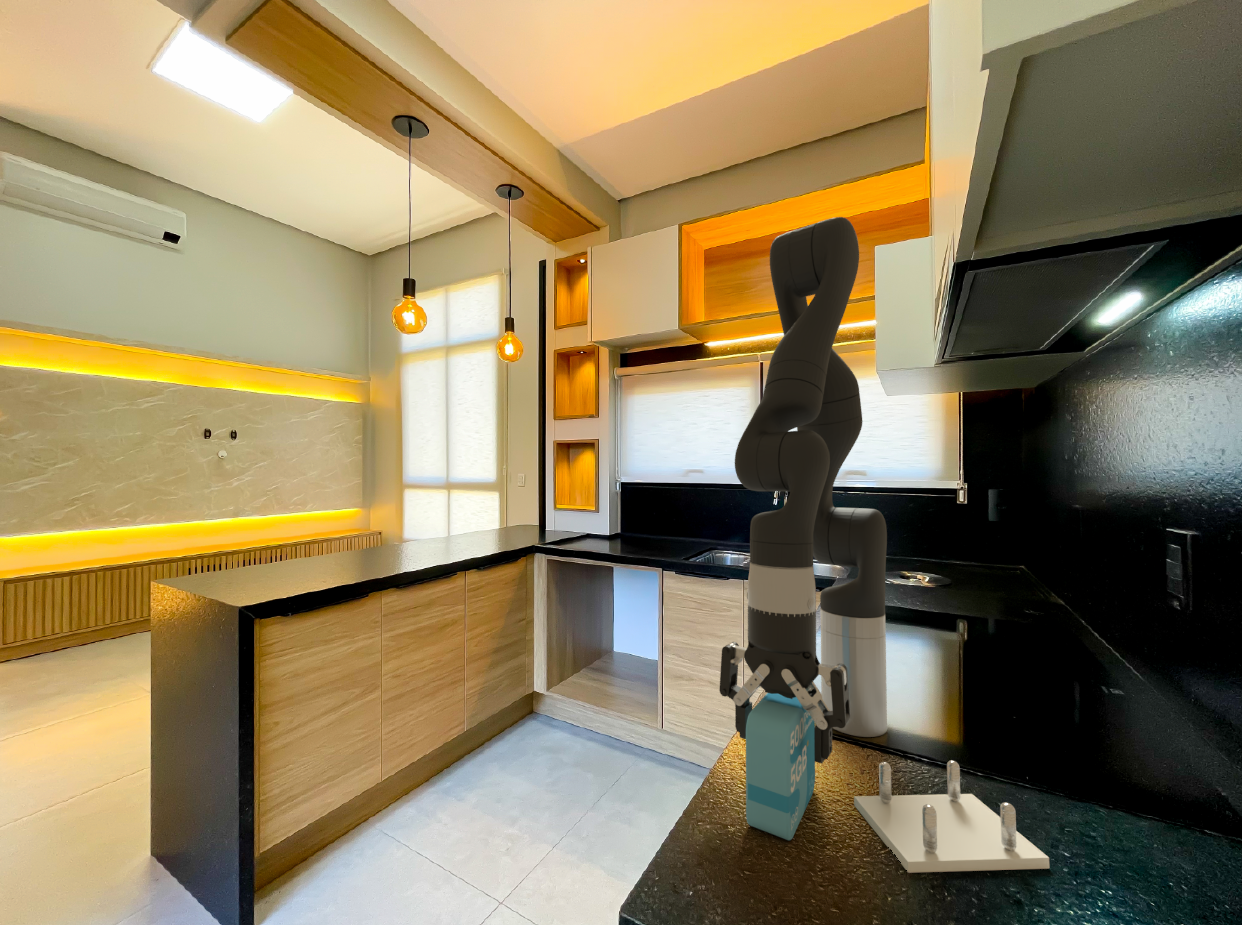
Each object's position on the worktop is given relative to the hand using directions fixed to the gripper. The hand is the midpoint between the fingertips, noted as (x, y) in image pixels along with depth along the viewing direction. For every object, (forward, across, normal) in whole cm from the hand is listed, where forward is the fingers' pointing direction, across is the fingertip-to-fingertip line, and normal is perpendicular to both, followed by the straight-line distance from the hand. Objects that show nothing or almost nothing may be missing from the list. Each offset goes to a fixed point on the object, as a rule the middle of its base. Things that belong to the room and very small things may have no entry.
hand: (781, 747), depth 57 cm
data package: (+7, 0, 0) cm, 7 cm away
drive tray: (+7, -15, -6) cm, 18 cm away
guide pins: (+7, -15, -6) cm, 18 cm away
